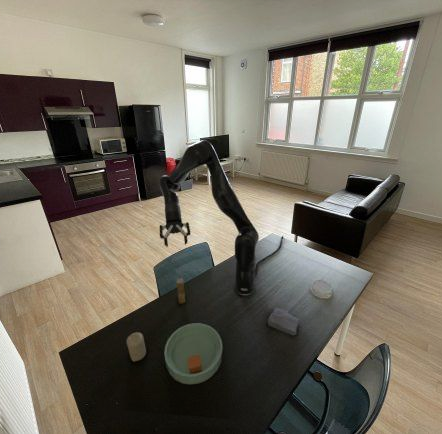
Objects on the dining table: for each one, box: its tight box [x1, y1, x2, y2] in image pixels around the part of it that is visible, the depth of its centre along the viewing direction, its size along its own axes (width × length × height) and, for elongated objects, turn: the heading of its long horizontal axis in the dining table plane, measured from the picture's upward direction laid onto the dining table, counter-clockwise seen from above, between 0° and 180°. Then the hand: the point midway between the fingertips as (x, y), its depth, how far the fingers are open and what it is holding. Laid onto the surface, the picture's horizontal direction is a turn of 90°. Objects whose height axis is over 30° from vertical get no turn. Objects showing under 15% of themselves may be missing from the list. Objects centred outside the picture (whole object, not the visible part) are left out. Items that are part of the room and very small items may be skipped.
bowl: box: [163, 322, 223, 385], centre depth 86 cm, size 20×20×5 cm
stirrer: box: [176, 277, 187, 305], centre depth 109 cm, size 3×3×12 cm
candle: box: [126, 331, 147, 363], centre depth 85 cm, size 6×6×10 cm
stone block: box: [267, 307, 300, 336], centre depth 100 cm, size 12×5×10 cm
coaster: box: [310, 279, 334, 300], centre depth 117 cm, size 10×10×4 cm
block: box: [188, 355, 202, 374], centre depth 81 cm, size 4×4×4 cm
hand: (176, 245), depth 111 cm, fingers open, 8 cm apart
